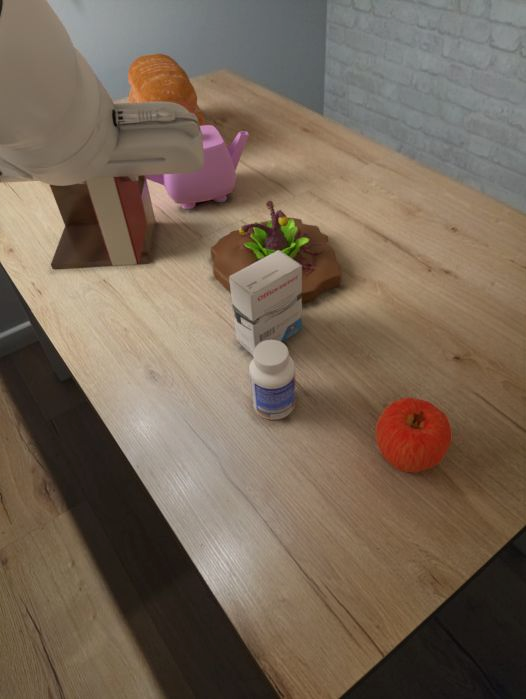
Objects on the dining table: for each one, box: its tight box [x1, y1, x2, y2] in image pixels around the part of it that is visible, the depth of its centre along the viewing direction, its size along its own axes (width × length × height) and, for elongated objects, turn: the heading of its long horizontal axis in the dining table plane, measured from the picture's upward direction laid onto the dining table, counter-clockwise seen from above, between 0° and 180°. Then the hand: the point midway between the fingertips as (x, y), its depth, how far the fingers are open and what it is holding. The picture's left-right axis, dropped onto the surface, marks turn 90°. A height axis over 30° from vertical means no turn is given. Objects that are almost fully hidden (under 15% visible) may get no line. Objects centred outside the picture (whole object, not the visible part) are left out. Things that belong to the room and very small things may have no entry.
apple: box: [375, 397, 453, 473], centre depth 57 cm, size 8×8×8 cm
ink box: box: [229, 250, 303, 357], centre depth 69 cm, size 8×5×12 cm, turn 130°
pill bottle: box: [248, 340, 296, 421], centre depth 61 cm, size 5×5×10 cm
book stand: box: [48, 175, 157, 270], centre depth 85 cm, size 16×12×13 cm
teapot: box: [145, 124, 250, 210], centre depth 95 cm, size 20×12×13 cm, turn 109°
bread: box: [127, 53, 207, 126], centre depth 110 cm, size 14×26×15 cm, turn 19°
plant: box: [210, 200, 342, 305], centre depth 79 cm, size 20×20×11 cm
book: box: [85, 177, 147, 267], centre depth 54 cm, size 3×8×12 cm, turn 2°
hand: (108, 174), depth 51 cm, fingers closed on book, 3 cm apart
